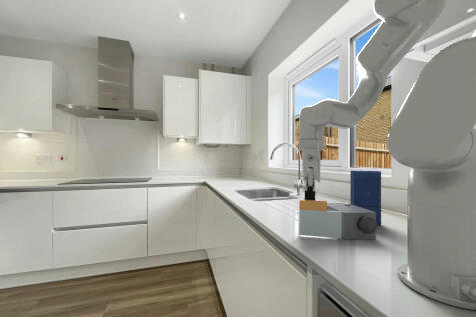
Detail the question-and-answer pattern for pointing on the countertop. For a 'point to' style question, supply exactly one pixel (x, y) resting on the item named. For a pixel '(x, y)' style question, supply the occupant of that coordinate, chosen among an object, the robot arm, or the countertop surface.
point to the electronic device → (366, 191)
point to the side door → (318, 219)
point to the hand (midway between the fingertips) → (309, 203)
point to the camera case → (355, 221)
